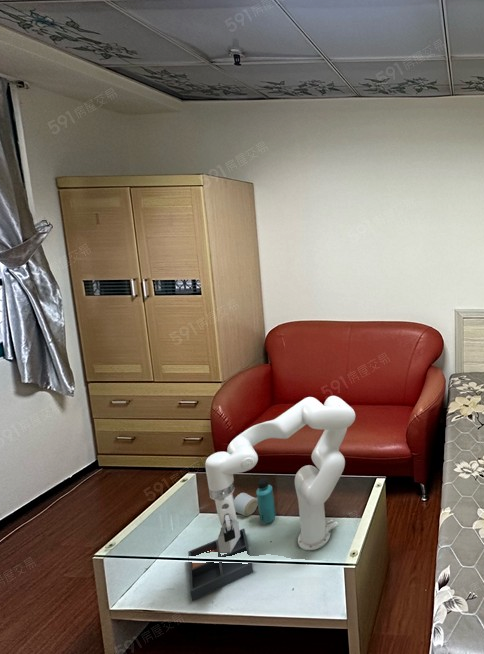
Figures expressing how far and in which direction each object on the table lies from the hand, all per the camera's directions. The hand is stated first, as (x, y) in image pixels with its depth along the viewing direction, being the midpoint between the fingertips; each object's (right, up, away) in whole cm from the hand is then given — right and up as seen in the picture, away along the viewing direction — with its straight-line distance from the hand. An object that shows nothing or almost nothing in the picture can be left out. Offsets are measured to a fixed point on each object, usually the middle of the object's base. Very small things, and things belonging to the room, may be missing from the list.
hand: (228, 531), depth 143 cm
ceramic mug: (-12, -14, +38) cm, 43 cm away
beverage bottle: (0, -16, +32) cm, 36 cm away
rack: (-9, -20, +11) cm, 25 cm away
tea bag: (0, -5, +1) cm, 6 cm away
